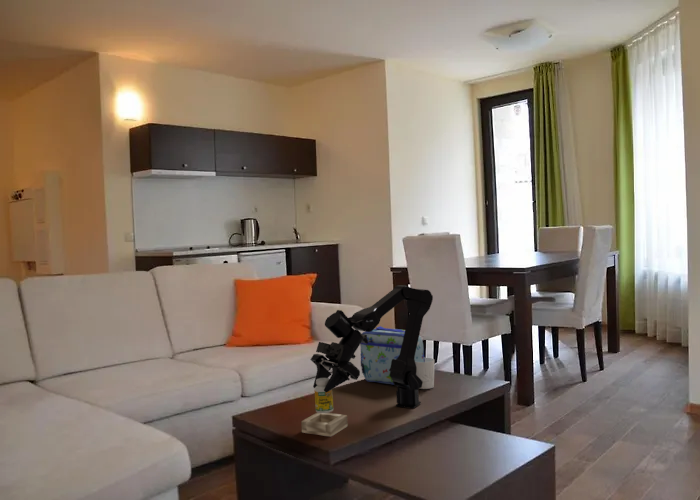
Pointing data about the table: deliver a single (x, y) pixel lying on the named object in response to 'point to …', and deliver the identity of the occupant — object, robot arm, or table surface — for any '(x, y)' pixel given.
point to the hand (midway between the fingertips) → (319, 389)
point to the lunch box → (384, 353)
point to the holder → (324, 424)
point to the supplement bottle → (323, 397)
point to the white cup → (426, 373)
